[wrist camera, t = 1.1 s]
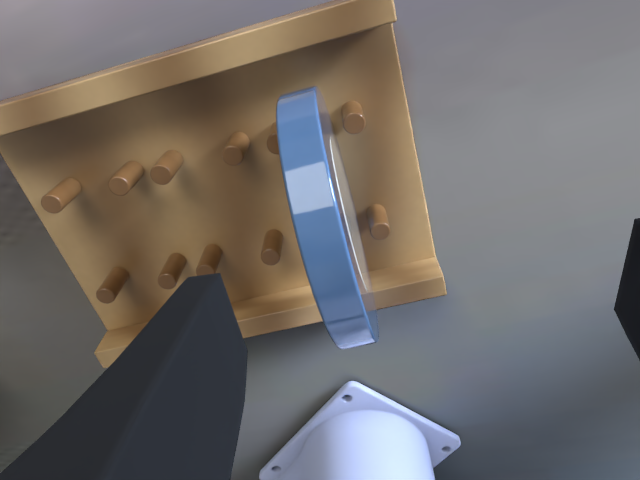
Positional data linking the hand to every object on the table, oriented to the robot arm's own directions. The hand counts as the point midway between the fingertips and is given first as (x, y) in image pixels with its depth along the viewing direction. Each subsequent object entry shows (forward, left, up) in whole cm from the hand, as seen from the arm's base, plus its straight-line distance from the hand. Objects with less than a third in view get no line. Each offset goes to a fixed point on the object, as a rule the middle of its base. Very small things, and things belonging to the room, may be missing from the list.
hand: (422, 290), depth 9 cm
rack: (-6, +3, -12) cm, 14 cm away
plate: (-3, 0, -11) cm, 12 cm away
